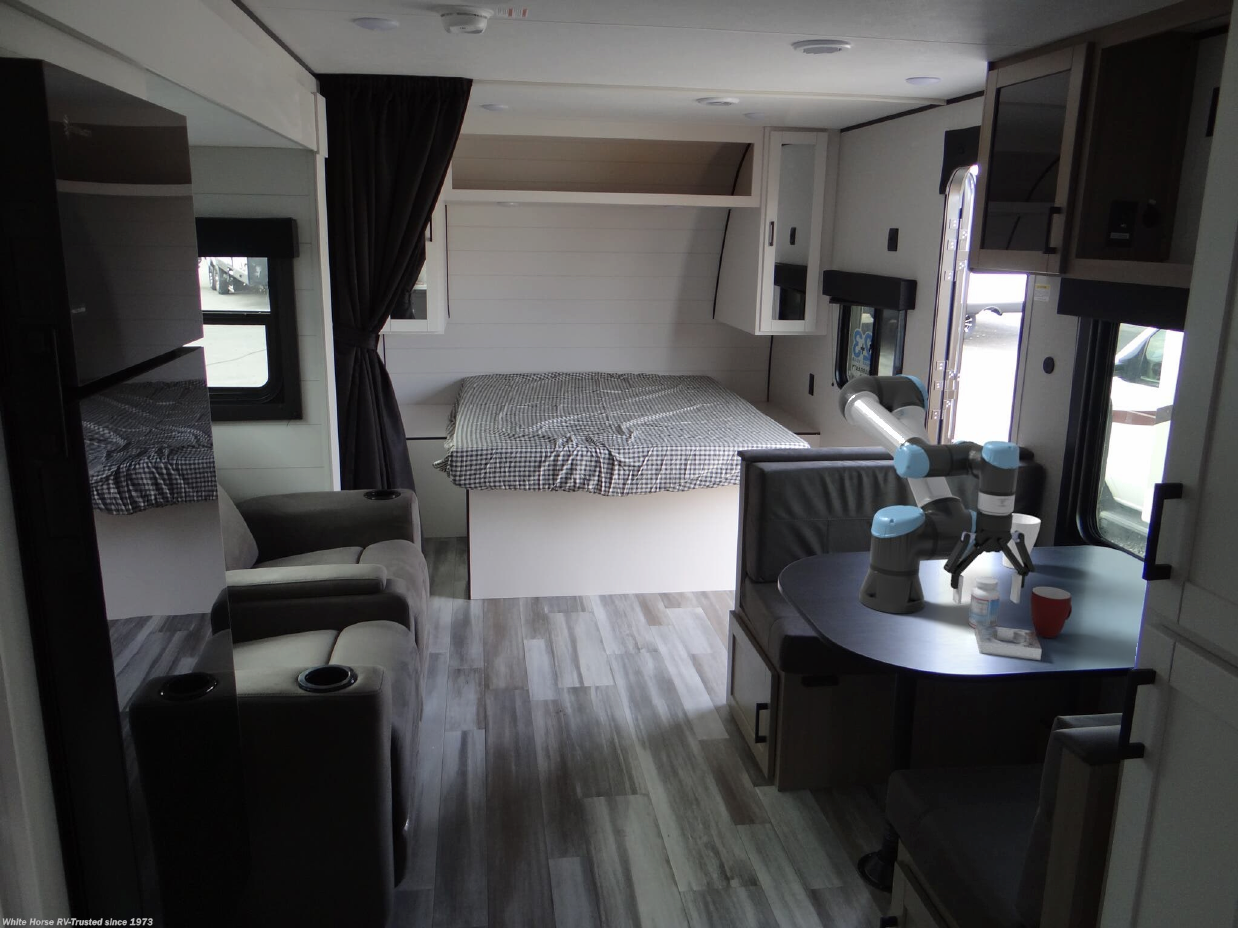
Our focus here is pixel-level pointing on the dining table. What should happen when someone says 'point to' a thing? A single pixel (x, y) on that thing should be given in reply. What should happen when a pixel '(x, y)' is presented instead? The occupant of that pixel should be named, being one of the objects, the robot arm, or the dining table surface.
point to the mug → (1049, 610)
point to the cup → (1029, 529)
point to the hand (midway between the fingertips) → (985, 601)
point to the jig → (1023, 638)
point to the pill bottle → (984, 602)
